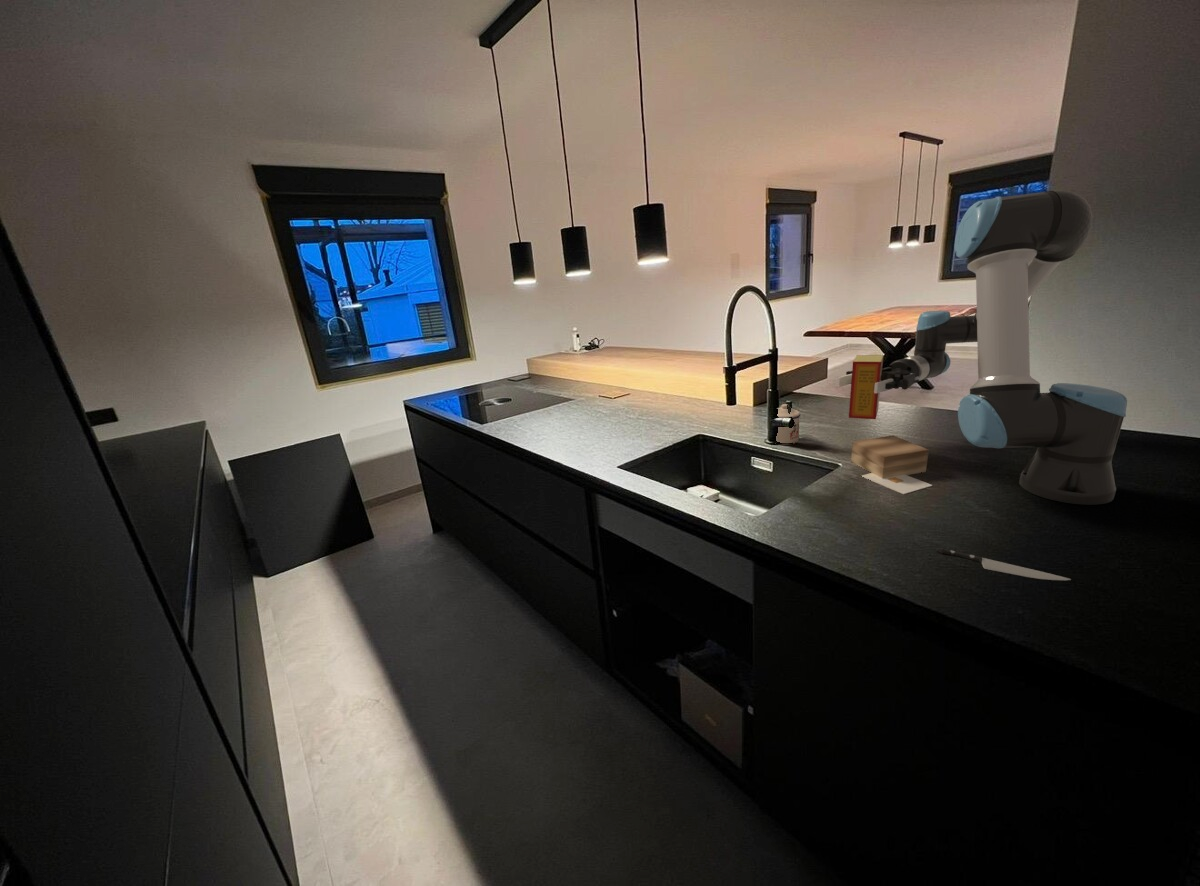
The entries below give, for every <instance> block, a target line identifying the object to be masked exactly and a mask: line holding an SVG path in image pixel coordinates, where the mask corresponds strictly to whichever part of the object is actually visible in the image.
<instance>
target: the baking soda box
mask: <svg viewBox="0 0 1200 886" xmlns="http://www.w3.org/2000/svg"><path fill="white" fill-rule="evenodd" d="M883 363H884V355H883V354H875V355H874V354H866V355H863V354H857V355H856V356H855V357H854V359H853V361H852V367H851V369H852V370H851V371H852V381H851V384H850V393H849V394H850V395H849V406H848V407H849V409H848V418H849V419H861V420H862V419H864V420H876V419H877V416H878V411H879V405H880V396H881V395H880V394H881V392H880V393H874V387H875V383H877V382H880V381H881V375H882V369H883Z"/></svg>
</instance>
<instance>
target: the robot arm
mask: <svg viewBox="0 0 1200 886" xmlns="http://www.w3.org/2000/svg"><path fill="white" fill-rule="evenodd" d="M961 218H962V219H961V220H960V223H959V225H958V228H957V231H956V234H955V240H954V253H955V254H956V255H955V256H956V257H958V258H959V259H961V260H962V259H963V260H965V259H966V262H967V263H966V266H967V267H966V268H967V270H969V271H970V272H972V273H974V274H975V285H976V287H975V288H976V289H975V290H976V297H975V298H976V312H975V313H974V315H961V316H951V312H950V311H948V310H929V311H928V310H926V311H923V312H922V313H920V314H919V316H918V320H917V325H916V333H915V342H914V343H915V344H914V349H913V351H914V352H913V355H912V356H908V357H904V358H901V359H896V360H895V361H893V362H891V363H890V364H889V365H888V366H887V367H884V368H883V367H882V375H881V381H880V382H877V383H875V387H874V393H880V394H881V393H883V392H887V391H891V390H892V389H895V390H898V389H899V388H901V390H907V389H908V388H909V389H910V387H911V386H913V385H914V384H916V383H919V382H920V381H923V380H926V379H930V378H931V379H932V378H935V377H938V376H940V375H942V374H944V373H945V372H947V371H948V369H949V368H950V366H951V358H950V356H949V354H948V353H946V346H947V345H948V344H949V345H950V344H963V343H976V344H977V381H976V382H975V383H973V385H971V386H970V387H969V394H967V395H966V396H964V397H962V398H961V400H960V401H959V407H958V408H957V417H958V418H957V419H958V424H959V428H960V430H961V433H962V435H963V436H964V438H965V439H966V440H967V441H968V442H969V443H970V444H971V445H973V446H976V447H978V448H993V449H1006V448H1007V449H1008V448H1011V449H1013V448H1014V449H1015V448H1018V449H1019V448H1036V452H1035V453H1034V455H1033V457H1032V458H1031V459H1030V460H1029V462H1028V463H1027V465H1026V466H1025V468H1024V469H1023V470H1022V471H1021V473H1020V475H1019V476H1020V477H1019V481H1018V484H1019V485H1020V487H1021V488H1022V489H1024V490H1025V491H1026V492H1029V493H1031V494H1033V495H1035V496H1037V497H1041V498H1044V499H1047V500H1051V501H1056V502H1059V503H1066V504H1072V505H1081V506H1082V505H1083V506H1084V505H1087V506H1092V505H1093V506H1095V505H1098V506H1099V505H1104V504H1108V503H1111V502H1112V501H1113V500H1114V498H1115V495H1116V491H1117V485H1116V483H1115V475H1114V472H1113V464H1112V461H1113V457H1114V454H1115V452H1116V451H1115V450H1116V447H1117V443H1118V439H1119V437H1120V433H1121V429H1122V425H1123V422H1124V419H1125V418H1126V416H1127V415H1126V412H1127V405H1128V399H1127V396H1126V395H1124V394H1122V393H1121V392H1119V391H1116V390H1112V389H1108V388H1106V387H1105V388H1104V387H1099V386H1094V385H1086V384H1079V383H1067V382H1066V383H1065V382H1058V383H1053V384H1052V385H1051V386H1050V387H1049V389H1048V391H1049V392H1041V383H1040V382H1039V381H1038V380H1036V379H1035V378H1033V377H1032V376H1031V365H1030V362H1031V361H1030V320H1029V310H1030V309H1029V298H1030V297H1031V296H1032V295H1033V294H1034V293H1035V292H1036V291H1037V289H1038V288H1039V287H1040V286H1041V285H1042V284H1043V283H1044V281H1045V280H1046V279H1047V278H1048V277H1049V276H1050V274H1051V273H1052V272H1053V271H1054V270H1055V269H1056V268H1057V267H1058V266H1059V265H1060V264H1061V263H1063V262H1066V261H1068V260H1070V259H1071V258H1072V257H1073V256H1074V255H1076V253H1078V251H1079V250H1080V249H1081V248H1082V247H1083V245H1084V244H1085V242H1087V239H1088V238H1089V235H1090V232H1091V230H1092V227H1093V212H1092V208H1091V206H1090V204H1089V202H1087V200H1086V199H1085V198H1084V197H1082V196H1081V195H1080V194H1078V193H1076V192H1073V191H1069V190H1064V189H1055V190H1047V191H1043V192H1042V191H1041V192H1035V193H1026V194H1018V195H1017V194H1016V195H1009V196H1001V195H1000V196H996V197H994V198H988V199H982V200H979V201H976V202H975V203H973V204H972V205H971V206H969V208H968V209H967V210H966V212H965V213H964V215H963V216H962V217H961ZM836 379H837V380H836V387H838V388H841V387H844V386H845V387H846V386H848V385H851V381H852V370H848V371H846V372H845V374H844V375H842V376H838V377H837V378H836Z"/></svg>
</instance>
